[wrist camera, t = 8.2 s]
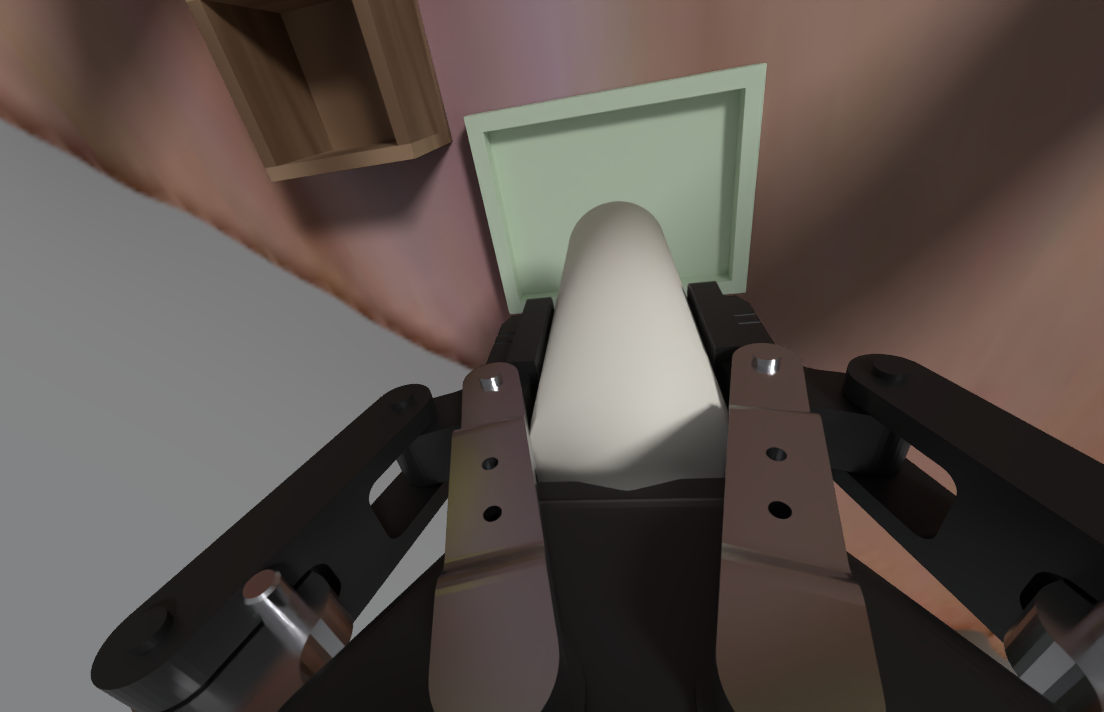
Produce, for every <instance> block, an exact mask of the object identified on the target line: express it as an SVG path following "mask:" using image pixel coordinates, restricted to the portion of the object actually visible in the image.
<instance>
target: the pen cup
mask: <svg viewBox="0 0 1104 712" xmlns="http://www.w3.org/2000/svg"><path fill="white" fill-rule="evenodd" d="M185 1H186V3H187V5H188V7H189V9H190V11H191V13H192V15H193V17H194V19H195V22H196V24H197V26H198V28H199V30H200V32H201V34H202V36H203V38H204V40H205V42H206V45H207V47H208V49H209V51H210V53H211V55H212V57H213V59H214V61H215V63H216V66H217V68H218V70H219V72H220V74H221V76H222V78H223V80H224V82H225V84H226V87H227V89H228V91H229V93H230V95H231V97H232V99H233V101H234V103H235V105H236V108H237V110H238V112H239V114H240V116H241V118H242V120H243V122H244V124H245V126H246V129H247V131H248V133H249V135H250V137H251V139H252V141H253V143H254V145H255V147H256V149H257V152H258V154H259V156H260V158H261V160H262V162H263V164H264V166H265V168H266V170H267V173H268V175H269V177H270V179H271V181H272V182H274V181H281V180H287V179H293V178H299V177H305V176H311V175H317V174H324V173H330V172H336V171H342V170H348V169H354V168H360V167H367V166H373V165H379V164H385V163H391V162H397V161H403V160H410V159H415V158H418V157H420V156H422V155H424V154H426V153H428V152H431V151H433V150H435V149H437V148H439V147H442V146H444V145H446V144H448V143H450V142H452V137H451V133H450V129H449V125H448V121H447V117H446V113H445V110H444V106H443V102H442V98H441V94H440V90H439V86H438V82H437V78H436V74H435V70H434V66H433V62H432V58H431V54H430V50H429V46H428V42H427V38H426V34H425V30H424V26H423V22H422V18H421V14H420V10H419V7H418V3H417V0H185Z"/></svg>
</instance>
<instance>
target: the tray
mask: <svg viewBox="0 0 1104 712" xmlns="http://www.w3.org/2000/svg"><path fill="white" fill-rule="evenodd" d="M766 67H767V63H759V64H752V65H746V66H740V67H735V68H729V69H723V70H718V71H712V72H707V73H701V74H695V75H690V76H684V77H678V78H673V79H667V80H662V81H656V82H650V83H645V84H639V85H633V86H628V87H622V88H617V89H611V90H605V91H600V92H594V93H588V94H583V95H577V96H572V97H566V98H560V99H555V100H549V101H543V102H538V103H532V104H527V105H521V106H515V107H510V108H504V109H498V110H493V111H487V112H482V113H476V114H471V115H468V116H465V117H464V121H465V125H466V130H467V134H468V138H469V143H470V147H471V151H472V155H473V160H474V164H475V168H476V173H477V177H478V181H479V185H480V190H481V194H482V198H483V202H484V207H485V211H486V215H487V220H488V224H489V228H490V232H491V237H492V241H493V245H494V250H495V254H496V258H497V262H498V267H499V271H500V275H501V280H502V284H503V288H504V292H505V297H506V301H507V305H508V309H509V314H518V313H522V312H523V309H524V306H525V303H526V300H527V299H532V298H542V297H552V300H553V304H554V310H555V306H556V301H557V296H558V292H559V287H560V282H561V277H562V273H563V268H564V263H565V258H566V254H567V249H568V244H569V239H570V236H571V233H572V231H573V229H574V227H575V225H576V224H577V222H578V221H579V220H580V219H581V217H582V216H583V215H584V214H586V213H587V212H588V211H590V210H591V209H593V208H594V207H596V206H598V205H601V204H604V203H608V202H613V201H624V202H630V203H634V204H637V205H639V206H641V207H643V208H645V209H646V210H647V211H649V212H650V213H651V214H652V215H653V216H654V217H655V218H656V220H657V221H658V223H659V224H660V226H661V228H662V231H663V234H664V236H665V239H666V242H667V245H668V247H669V250H670V253H671V256H672V258H673V261H674V264H675V267H676V269H677V272H678V275H679V277H680V280H681V283H682V286H683V288H684V291H685V294H686V297H687V287H688V284H689V283H697V282H708V281H716V282H717V284H718V286H719V288H720V290H721V292H722V293H723V295H725V294H736V293H746V285H747V274H748V263H749V252H750V241H751V230H752V219H753V209H754V198H755V187H756V176H757V165H758V154H759V143H760V133H761V122H762V111H763V100H764V89H765V78H766Z"/></svg>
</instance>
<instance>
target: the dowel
mask: <svg viewBox="0 0 1104 712" xmlns="http://www.w3.org/2000/svg"><path fill="white" fill-rule="evenodd" d="M728 413H729V412H728V409H727V407H726V404H725V401H724V398H723V396H722V393H721V390H720V387H719V385H718V382H717V379H716V376H715V374H714V371H713V368H712V365H711V363H710V360H709V357H708V354H707V352H706V349H705V346H704V343H703V341H702V338H701V335H700V332H699V330H698V327H697V324H696V321H695V319H694V316H693V313H692V310H691V308H690V305H689V302H688V299H687V297H686V294H685V291H684V288H683V286H682V283H681V280H680V277H679V275H678V272H677V269H676V267H675V264H674V261H673V258H672V256H671V253H670V250H669V247H668V245H667V242H666V239H665V236H664V234H663V231H662V228H661V226H660V224H659V223H658V221H657V220H656V218H655V217H654V216H653V215H652V214H651V213H650V212H649V211H647V210H646V209H645V208H643V207H641V206H639V205H637V204H634V203H630V202H624V201H613V202H608V203H604V204H601V205H598V206H596V207H594V208H593V209H591V210H590V211H588V212H587V213H586V214H584V215H583V216H582V217H581V219H580V220H579V221H578V222H577V224H576V225H575V227H574V229H573V231H572V233H571V236H570V239H569V244H568V249H567V254H566V258H565V263H564V268H563V273H562V277H561V282H560V287H559V292H558V296H557V301H556V306H555V311H554V315H553V320H552V325H551V330H550V334H549V339H548V344H547V349H546V353H545V358H544V363H543V368H542V372H541V377H540V382H539V387H538V391H537V396H536V401H535V405H534V410H533V415H532V420H531V424H530V429H529V432H530V439H531V443H532V447H533V451H534V456H535V460H536V464H537V468H538V472H539V476H540V480H541V482H569V481H577V482H583V483H588V484H593V485H598V486H604V487H609V488H614V489H619V490H626V491H630V490H636V489H640V488H644V487H648V486H652V485H657V484H661V483H665V482H669V481H674V480H678V479H690V478H724V467H725V455H726V442H727V431H728Z"/></svg>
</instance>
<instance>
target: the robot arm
mask: <svg viewBox="0 0 1104 712" xmlns="http://www.w3.org/2000/svg"><path fill="white" fill-rule="evenodd" d="M687 299H688V302H689V305H690V308H691V310H692V313H693V316H694V319H695V321H696V324H697V327H698V330H699V332H700V335H701V338H702V341H703V343H704V346H705V349H706V352H707V354H708V357H709V360H710V363H711V365H712V368H713V371H714V374H715V376H716V379H717V382H718V385H719V387H720V390H721V393H722V396H723V398H724V401H725V404H726V407H727V409H728V412H729V413H728V431H727V442H726V455H725V467H724V478H690V479H678V480H674V481H669V482H665V483H661V484H657V485H652V486H648V487H644V488H640V489H636V490H630V491H626V490H619V489H614V488H609V487H604V486H598V485H593V484H588V483H583V482H577V481H569V482H541V480H540V476H539V472H538V468H537V464H536V460H535V456H534V451H533V447H532V443H531V439H530V432H529V429H530V424H531V420H532V415H533V410H534V405H535V401H536V396H537V391H538V387H539V382H540V377H541V372H542V368H543V363H544V358H545V353H546V349H547V344H548V339H549V334H550V330H551V325H552V320H553V315H554V311H555V310H554V304H553V300H552V297H542V298H532V299H527V300H526V303H525V306H524V309H523V312H522V315H518V316H511V317H510V318H509V319H508V320H507V321H506V322H505V323H504V324H502V326H501V328H500V331H499V333H498V336H497V338H496V341H495V344H494V346H493V348H492V351H491V353H490V356H489V358H488V361H487V363H486V365H483V366H480V367H478V368H476V369H474V370H473V371H471V372H470V373H469V374H468V375H467V376H466V377H465V379H464V381H463V389H462V390H460V391H457V392H454V393H450V394H447V395H443V396H439V397H436V398H433V397H432V394H431V392H430V390H429V388H427V387H426V386H424V385H421V384H409V385H404V386H401V387H398V388H395V389H393V390H391V391H389V392H387V393H386V394H384V395H383V396H382V397H380V398H379V399H378V400H377V401H376V402H375V403H373V404H372V406H370V407H369V408H368V409H367V410H365V411H364V412H363V413H362V414H361V415H360V416H359V417H357V418H356V419H355V420H354V421H353V422H352V423H350V424H349V425H348V426H347V427H346V428H345V429H344V430H342V431H341V432H340V433H339V434H338V435H337V436H335V437H334V438H333V439H332V440H331V441H330V442H329V443H327V444H326V445H325V446H324V447H323V448H322V449H321V450H319V451H318V452H317V453H316V454H315V455H314V456H312V457H311V458H310V459H309V460H308V461H307V462H306V463H304V464H303V465H302V466H301V467H300V468H299V469H298V470H296V471H295V472H294V473H293V474H292V475H291V476H289V477H288V478H287V479H286V480H285V481H284V482H283V483H281V484H280V485H279V486H278V487H277V488H276V489H275V490H273V491H272V492H271V493H270V494H269V495H268V496H266V497H265V498H264V499H263V500H262V501H261V502H260V503H259V504H257V505H256V506H255V507H254V508H253V509H251V510H250V511H249V512H248V513H247V514H246V515H245V516H243V517H242V518H241V519H240V520H239V521H238V522H236V523H235V524H234V525H233V526H232V527H231V528H230V529H228V530H227V531H226V532H225V533H224V534H223V535H221V536H220V537H219V538H218V539H217V540H216V541H215V542H213V543H212V544H211V545H210V546H209V547H208V548H207V549H205V550H204V551H203V552H202V553H201V554H200V555H198V556H197V557H196V558H195V559H194V560H193V561H192V562H190V563H189V564H188V565H187V566H186V567H185V568H183V569H182V570H181V571H180V572H179V573H178V574H177V575H175V576H174V577H173V578H172V579H171V580H170V581H168V582H167V583H166V584H165V585H164V586H163V587H162V588H160V589H159V590H158V591H157V592H156V593H155V594H154V595H152V596H151V597H150V598H149V599H148V600H147V601H145V602H144V603H143V604H142V605H141V606H140V607H139V608H137V609H136V610H135V611H134V612H133V613H132V614H130V615H129V616H128V617H127V618H126V619H125V620H124V621H123V622H122V623H121V624H120V625H119V626H118V627H117V628H116V629H115V630H114V631H113V632H112V633H111V635H110V636H109V637H108V638H107V640H106V641H105V642H104V644H103V645H102V647H101V648H100V650H99V652H98V653H97V655H96V657H95V660H94V662H93V665H92V669H91V680H92V682H93V684H94V685H95V686H96V687H97V688H99V689H100V690H102V691H104V692H105V693H107V694H109V695H110V696H112V697H114V698H115V699H117V700H119V701H120V702H122V703H124V704H125V705H127V706H129V707H130V708H131V710H132V712H1104V464H1102V463H1100V462H1098V461H1096V460H1095V459H1093V458H1091V457H1089V456H1087V455H1085V454H1084V453H1082V452H1080V451H1078V450H1076V449H1074V448H1073V447H1071V446H1069V445H1067V444H1065V443H1063V442H1062V441H1060V440H1058V439H1056V438H1054V437H1052V436H1051V435H1049V434H1047V433H1045V432H1043V431H1041V430H1039V429H1038V428H1036V427H1034V426H1032V425H1030V424H1028V423H1027V422H1025V421H1023V420H1021V419H1019V418H1017V417H1016V416H1014V415H1012V414H1010V413H1008V412H1006V411H1005V410H1003V409H1001V408H999V407H997V406H995V405H993V404H992V403H990V402H988V401H986V400H984V399H982V398H981V397H979V396H977V395H975V394H973V393H971V392H970V391H968V390H966V389H964V388H962V387H960V386H959V385H957V384H955V383H953V382H951V381H949V380H947V379H946V378H944V377H942V376H940V375H938V374H936V373H935V372H933V371H931V370H929V369H927V368H925V367H924V366H922V365H920V364H918V363H916V362H914V361H911V360H908V359H905V358H902V357H898V356H893V355H886V354H868V355H862V356H859V357H856V358H854V359H852V360H851V361H850V362H849V364H848V367H847V371H846V373H841V372H833V371H824V370H817V369H811V368H807V367H804V366H803V364H802V360H801V358H800V356H799V355H798V354H797V353H795V352H794V351H792V350H790V349H788V348H786V347H783V346H780V345H776V344H774V342H773V341H772V339H771V337H770V336H769V334H768V333H767V331H766V329H765V328H764V326H763V325H762V323H760V320H759V318H758V317H757V315H755V312H754V310H753V309H752V307H751V305H750V304H749V303H748V302H746V301H744V300H743V299H741V298H739V297H738V296H727V297H724V295H723V293H722V292H721V290H720V288H719V286H718V284H717V282H716V281H708V282H697V283H689V284H688V287H687ZM910 445H912V446H913V447H915V448H916V449H917V450H919V451H920V452H922V453H923V454H924V455H926V456H927V457H929V458H930V459H931V460H933V461H934V462H935V463H937V464H938V465H940V466H941V467H942V468H943V469H945V470H946V471H947V472H948V473H949V475H950V476H951V477H952V479H953V481H954V483H955V485H956V489H957V495H956V496H955V495H954V494H953V493H951V492H950V491H949V490H947V489H946V488H945V487H943V486H942V485H941V484H940V483H938V482H937V481H936V480H934V479H933V478H932V477H930V476H929V475H928V474H926V473H925V472H924V471H922V470H921V469H920V468H918V467H917V466H916V465H915V464H913V463H912V462H911V461H909V460H908V459H907V458H905V457H906V455H907V452H908V450H909V447H910ZM395 460H397V462H398V463H399V466H400V468H401V470H402V472H401V473H400V474H399V475H398V476H397V477H396V478H395V479H394V481H393V482H392V483H391V484H390V485H389V486H388V487H387V488H386V489H385V490H384V492H383V493H382V494H381V495H380V496H379V497H378V498H377V499H376V500H375V501H374V503H373V504H372V505H371V506H370V504H369V494H370V490H371V488H372V486H373V484H374V483H375V482H376V480H377V479H378V478H379V477H380V476H381V475H382V474H383V473H384V472H385V471H386V470H387V469H388V468H389V467H390V465H392V463H393V462H394V461H395ZM833 481H835V482H836V483H837V484H838V485H839V486H840V487H841V488H842V489H843V490H844V491H845V492H846V493H847V494H848V495H849V496H850V497H851V498H852V499H853V500H854V501H855V502H857V503H858V504H859V505H860V506H861V507H862V508H863V509H864V510H865V511H866V512H867V513H868V514H869V515H870V516H871V517H872V518H873V519H874V520H875V521H876V522H877V523H878V524H880V525H881V526H882V527H883V528H884V529H885V530H886V531H887V532H888V533H889V534H890V535H891V536H892V537H893V538H894V539H895V540H896V541H897V542H898V543H899V544H900V545H902V546H903V547H904V548H905V549H906V550H907V551H908V552H909V553H910V554H911V555H912V556H913V557H914V558H915V559H916V560H917V561H918V562H919V563H920V564H921V565H922V566H923V567H925V568H926V569H927V570H928V571H929V572H930V573H931V574H932V575H933V576H934V577H935V578H936V579H937V580H938V581H939V582H940V583H941V584H942V585H943V586H944V587H945V588H946V589H948V590H949V591H950V592H951V593H952V594H953V595H954V596H955V597H956V598H957V599H958V600H959V601H960V602H961V603H962V604H963V605H964V606H965V607H966V608H967V609H968V610H970V611H971V612H972V613H973V614H974V615H975V616H976V617H977V618H978V619H979V620H980V621H981V622H982V623H983V624H984V625H985V626H986V627H987V628H988V629H989V630H990V631H991V632H993V633H994V634H995V635H996V636H997V637H998V638H999V639H1000V640H1001V641H1002V642H1003V643H1004V650H1005V653H1006V656H1007V659H1008V661H1009V663H1010V664H1011V666H1012V668H1013V670H1014V671H1015V673H1016V674H1017V676H1018V677H1017V676H1016V675H1015V674H1013V673H1012V672H1010V671H1009V670H1008V669H1006V668H1005V667H1004V666H1002V665H1001V664H1000V663H998V662H997V661H995V660H994V659H992V658H991V657H990V656H989V655H987V654H986V653H985V652H983V651H982V650H980V649H979V648H978V647H976V646H975V645H974V644H972V643H971V642H969V641H968V640H967V639H965V638H964V637H962V636H961V635H960V634H959V633H957V632H956V631H955V630H953V629H952V628H950V627H949V626H948V625H946V624H945V623H944V622H942V621H941V620H940V619H938V618H937V617H935V616H934V615H933V614H931V613H930V612H929V611H927V610H926V609H925V608H923V607H922V606H920V605H919V604H918V603H916V602H915V601H914V600H912V599H911V598H910V597H908V596H907V595H906V594H904V593H903V592H901V591H900V590H899V589H897V588H896V587H895V586H893V585H892V584H891V583H889V582H888V581H886V580H885V579H884V578H882V577H881V576H880V575H878V574H877V573H876V572H874V571H873V570H871V569H870V568H869V567H867V566H866V565H865V564H863V563H862V562H861V561H859V560H858V559H856V558H855V557H854V556H852V555H851V554H850V553H848V552H847V551H846V547H845V542H844V536H843V531H842V526H841V520H840V515H839V510H838V504H837V499H836V494H835V488H834V483H833ZM447 498H448V511H447V528H446V545H445V553H444V554H443V555H442V556H441V557H440V558H439V559H438V560H437V561H436V562H435V563H434V564H433V565H432V566H431V567H430V568H429V569H427V570H426V571H425V572H424V573H423V574H422V575H421V576H420V577H419V578H418V579H417V580H416V581H414V582H413V583H412V584H411V585H410V586H409V587H408V588H407V589H406V590H405V591H404V592H403V593H402V594H401V595H400V596H398V597H397V598H396V599H395V600H394V601H393V602H392V603H391V604H390V605H389V606H388V607H387V608H386V609H384V610H383V611H382V612H381V613H380V614H379V615H378V616H377V617H376V618H375V619H374V620H373V621H372V622H371V623H370V624H368V625H367V626H366V627H365V628H364V629H363V630H362V631H361V632H360V633H359V634H358V635H357V636H356V637H354V638H353V639H352V640H351V641H350V638H351V635H352V630H353V623H354V621H355V620H356V619H357V617H358V616H359V615H360V613H361V612H362V611H363V609H364V608H365V607H366V605H367V604H368V603H369V601H370V600H371V599H372V597H373V596H374V595H375V594H376V592H377V591H378V589H379V588H380V587H381V586H382V584H383V583H384V582H385V580H386V579H387V578H388V576H389V575H390V574H391V572H392V571H393V570H394V568H395V567H396V566H397V564H398V563H399V562H400V560H401V559H402V558H403V556H404V555H405V554H406V552H407V551H408V550H409V549H410V547H411V546H412V545H413V543H414V542H415V541H416V539H417V538H418V536H419V535H420V534H421V533H422V531H423V530H424V529H425V527H426V526H427V525H428V523H429V522H430V521H431V519H432V518H433V517H434V515H435V514H436V513H437V511H438V510H439V508H440V507H441V506H442V505H443V503H444V502H445V501H446V500H447ZM349 641H350V642H349Z"/></svg>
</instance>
